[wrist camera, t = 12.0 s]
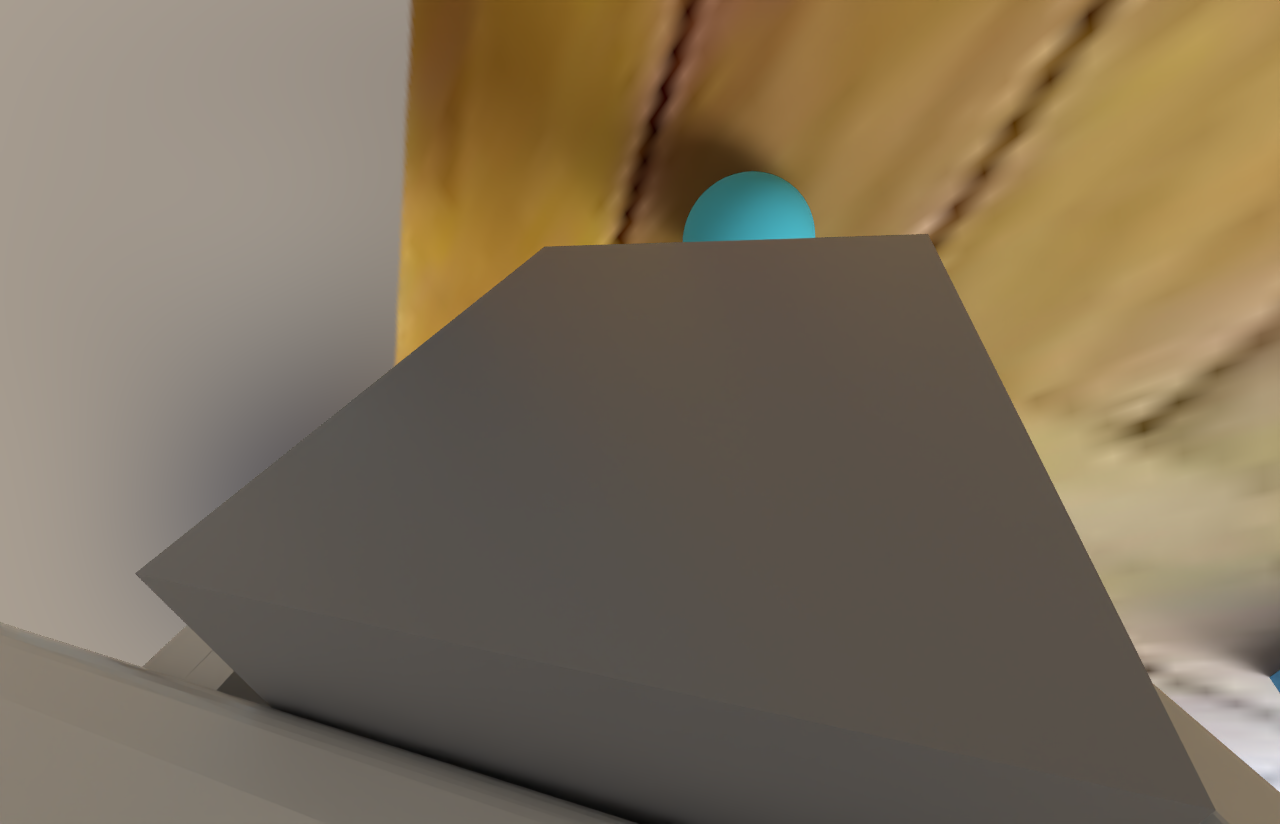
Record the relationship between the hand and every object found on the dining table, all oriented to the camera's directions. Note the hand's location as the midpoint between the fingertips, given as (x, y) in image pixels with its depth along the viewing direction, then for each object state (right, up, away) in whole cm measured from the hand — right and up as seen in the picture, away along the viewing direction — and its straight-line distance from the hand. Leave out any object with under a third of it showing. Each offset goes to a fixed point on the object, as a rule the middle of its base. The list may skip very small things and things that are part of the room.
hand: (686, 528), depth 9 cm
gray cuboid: (+1, +2, +3) cm, 4 cm away
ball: (+3, +9, +11) cm, 15 cm away
